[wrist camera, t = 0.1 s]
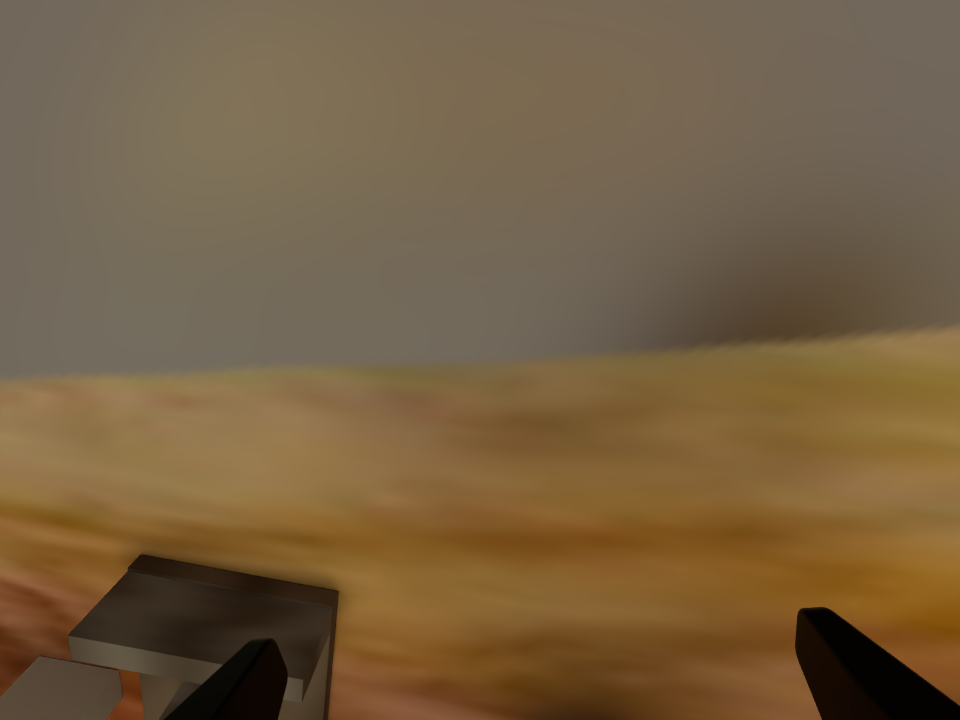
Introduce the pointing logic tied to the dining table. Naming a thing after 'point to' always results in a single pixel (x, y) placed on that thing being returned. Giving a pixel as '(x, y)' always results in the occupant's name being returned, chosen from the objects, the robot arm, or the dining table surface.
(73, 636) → the stand
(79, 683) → the rectangular block
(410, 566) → the dining table surface
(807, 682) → the robot arm
